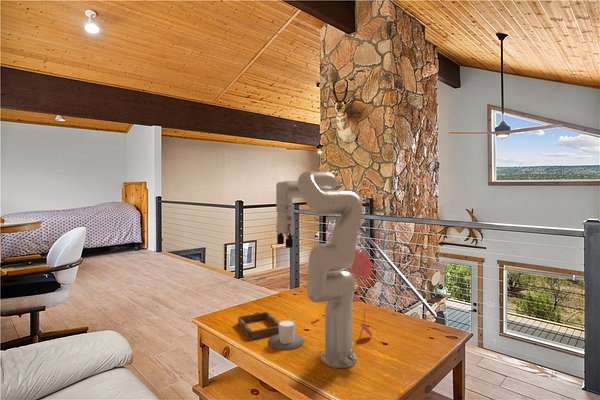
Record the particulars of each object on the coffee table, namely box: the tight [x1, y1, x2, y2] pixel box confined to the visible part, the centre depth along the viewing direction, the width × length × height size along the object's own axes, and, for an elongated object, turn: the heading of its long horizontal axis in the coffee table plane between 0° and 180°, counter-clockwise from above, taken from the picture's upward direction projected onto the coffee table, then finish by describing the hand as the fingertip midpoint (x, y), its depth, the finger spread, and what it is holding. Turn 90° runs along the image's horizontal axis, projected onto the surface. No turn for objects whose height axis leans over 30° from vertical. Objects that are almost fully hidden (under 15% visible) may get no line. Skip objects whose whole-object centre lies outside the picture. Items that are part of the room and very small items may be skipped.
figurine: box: [350, 248, 385, 346], centre depth 143 cm, size 15×26×35 cm, turn 41°
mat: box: [267, 333, 305, 351], centre depth 134 cm, size 14×14×1 cm
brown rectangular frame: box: [237, 311, 280, 341], centre depth 147 cm, size 18×14×3 cm
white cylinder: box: [278, 319, 296, 344], centre depth 134 cm, size 7×7×7 cm
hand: (284, 245), depth 155 cm, fingers open, 9 cm apart
